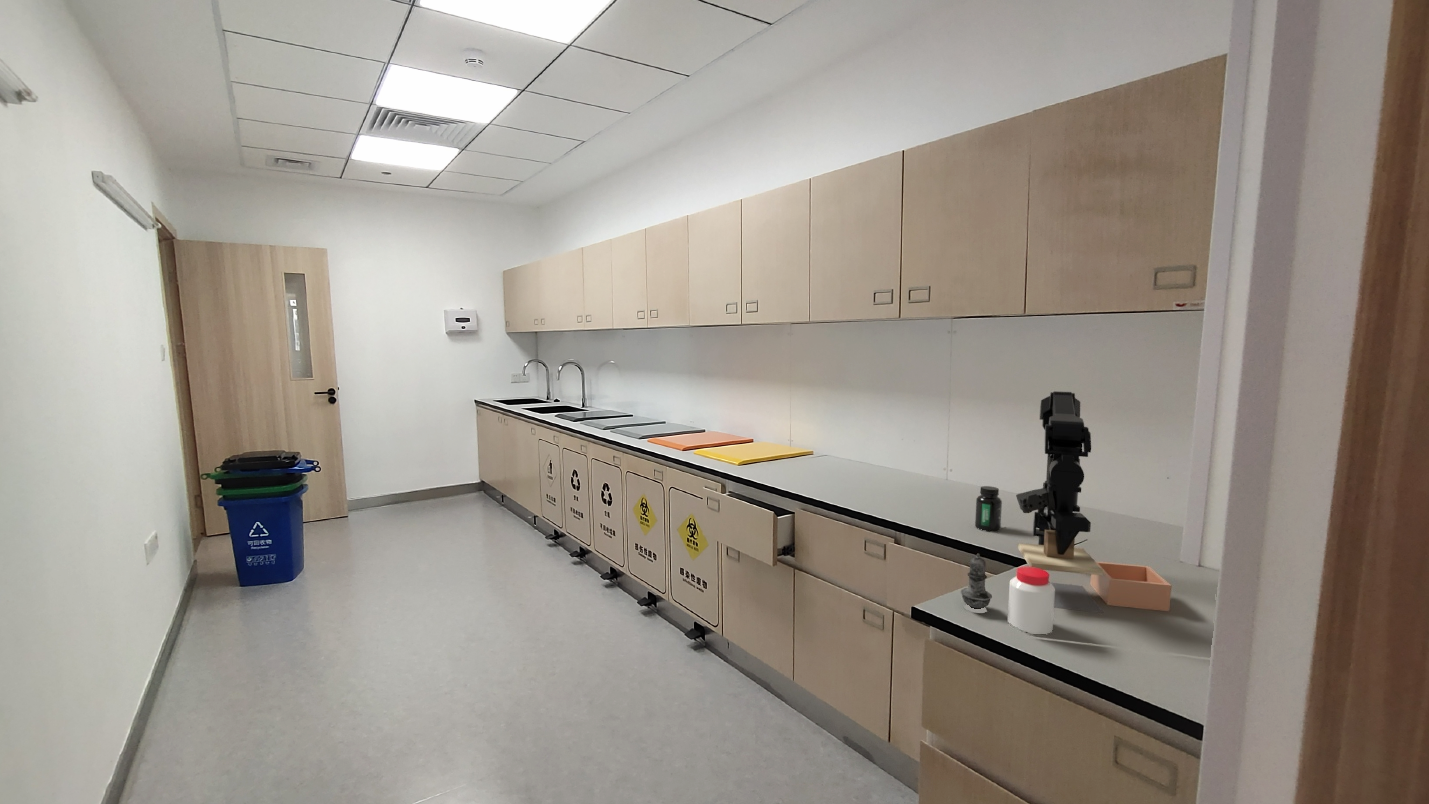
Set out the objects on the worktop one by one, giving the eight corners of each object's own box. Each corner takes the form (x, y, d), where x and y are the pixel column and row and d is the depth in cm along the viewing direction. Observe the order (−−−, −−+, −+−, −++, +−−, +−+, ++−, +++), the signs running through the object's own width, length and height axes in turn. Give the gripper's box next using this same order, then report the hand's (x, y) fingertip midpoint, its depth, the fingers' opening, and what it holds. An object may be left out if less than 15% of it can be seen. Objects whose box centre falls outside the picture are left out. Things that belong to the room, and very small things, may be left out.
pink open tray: (1090, 587, 138) (1092, 561, 137) (1146, 592, 135) (1148, 566, 134) (1107, 607, 127) (1109, 579, 127) (1168, 614, 124) (1171, 585, 124)
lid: (1018, 548, 139) (1019, 521, 138) (1082, 553, 136) (1084, 526, 135) (1031, 568, 127) (1032, 539, 126) (1102, 575, 123) (1104, 545, 122)
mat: (1013, 580, 141) (1013, 579, 140) (1082, 587, 137) (1082, 585, 137) (1026, 606, 127) (1027, 604, 127) (1103, 614, 123) (1103, 612, 123)
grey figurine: (965, 601, 129) (967, 546, 128) (994, 609, 126) (997, 552, 124) (955, 611, 125) (958, 553, 123) (986, 619, 121) (989, 560, 120)
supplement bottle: (987, 533, 175) (989, 491, 174) (969, 526, 182) (971, 486, 180) (1005, 530, 178) (1008, 489, 177) (987, 523, 184) (989, 484, 183)
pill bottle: (1038, 617, 122) (1041, 564, 121) (1061, 636, 114) (1065, 579, 113) (999, 618, 122) (1002, 564, 121) (1020, 637, 114) (1023, 579, 113)
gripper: (1012, 468, 140) (1008, 535, 142) (1030, 487, 122) (1026, 563, 124) (1066, 471, 137) (1062, 539, 139) (1093, 491, 119) (1088, 568, 121)
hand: (1058, 551), depth 131 cm, fingers closed on lid, 3 cm apart
